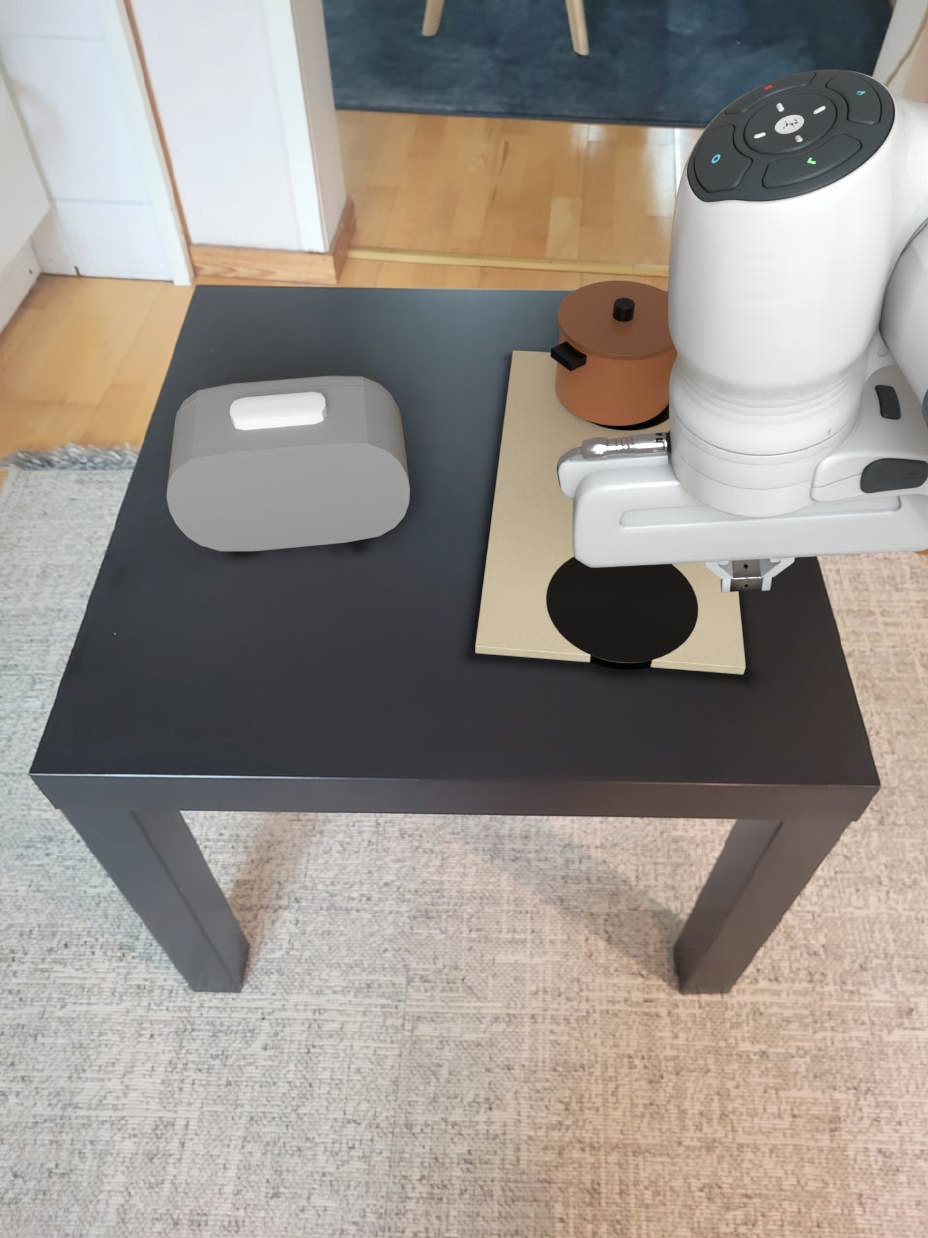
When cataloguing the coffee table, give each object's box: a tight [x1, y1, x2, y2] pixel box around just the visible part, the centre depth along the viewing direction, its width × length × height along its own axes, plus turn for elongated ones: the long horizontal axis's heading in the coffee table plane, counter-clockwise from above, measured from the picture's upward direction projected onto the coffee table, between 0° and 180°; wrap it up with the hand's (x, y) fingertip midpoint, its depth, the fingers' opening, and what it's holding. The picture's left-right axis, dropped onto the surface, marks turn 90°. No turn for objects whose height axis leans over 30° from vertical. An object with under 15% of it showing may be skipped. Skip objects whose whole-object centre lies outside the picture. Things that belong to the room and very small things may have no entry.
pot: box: [550, 280, 677, 426], centre depth 94 cm, size 16×13×11 cm
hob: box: [474, 349, 747, 675], centre depth 90 cm, size 22×41×1 cm, turn 174°
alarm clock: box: [166, 375, 411, 552], centre depth 83 cm, size 21×10×13 cm, turn 97°
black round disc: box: [546, 557, 698, 671], centre depth 80 cm, size 13×13×1 cm
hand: (744, 582), depth 58 cm, fingers closed
